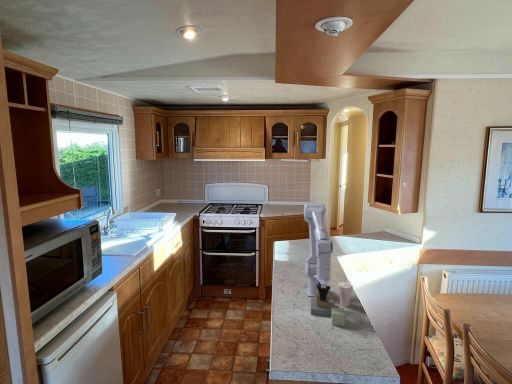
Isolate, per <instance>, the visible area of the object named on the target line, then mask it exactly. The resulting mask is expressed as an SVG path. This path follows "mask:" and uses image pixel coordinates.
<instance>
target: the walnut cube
mask: <svg viewBox="0 0 512 384" xmlns="http://www.w3.org/2000/svg"><path fill="white" fill-rule="evenodd" d="M329 293H330V291H328V294H327V297H326V301H321V300H320V295H319V291H317V297H316V299H317V307H326V308H329V300H330V294H329Z"/></svg>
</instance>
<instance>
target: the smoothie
mask: <svg viewBox="0 0 512 384" xmlns="http://www.w3.org/2000/svg"><path fill="white" fill-rule="evenodd" d="M337 287H338V293H339V303H340V306H341V307H342V308H343V307H344V308H347V307H349V306H350V302H351V295H352V289H353V287H354V286H353V284H352V283H351V282H348V281H346V274H344V275H343V281H339V282H338V283H337Z"/></svg>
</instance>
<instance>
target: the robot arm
mask: <svg viewBox="0 0 512 384" xmlns="http://www.w3.org/2000/svg"><path fill="white" fill-rule="evenodd" d="M325 216H326V205H325V204H324V203H305V204H304V206H303V217H304V218H303V219H304V221H305V222H307V225H308V228H309V229H308V230H309V231H308V233H309V247H310V256H308V257H307V258H306V260H305V262H304V263H305V265H304V269H305V271H304V272H305V275H306V276H307V277H308V279H307V280H308V281H307V283H308V284H307V289H306V290H307V293H306V296H307V297H311V298H315V297H316V298H317V291H319V295H320V300H321V301H326V297H327V294H328V292H330V290H331V286H330V285H328V283H329V282H330V280H331V278H332V277H331V263H332V262H331V260H332V259H331V258H332V257H331V256H332V253H333V251H334V245H333V241H332V239H331V238H330V236H329V232H328V229H327V227H325V226H324V225H325V224H324V218H325Z"/></svg>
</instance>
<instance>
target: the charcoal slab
mask: <svg viewBox="0 0 512 384" xmlns="http://www.w3.org/2000/svg"><path fill="white" fill-rule="evenodd" d="M310 299H311V301H310V315H312V316H322V315H323V317H331V311H332V307H334V308H335V301H334V299H329V308H326V307H317V297H316V298H315V297H311V298H310Z"/></svg>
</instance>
